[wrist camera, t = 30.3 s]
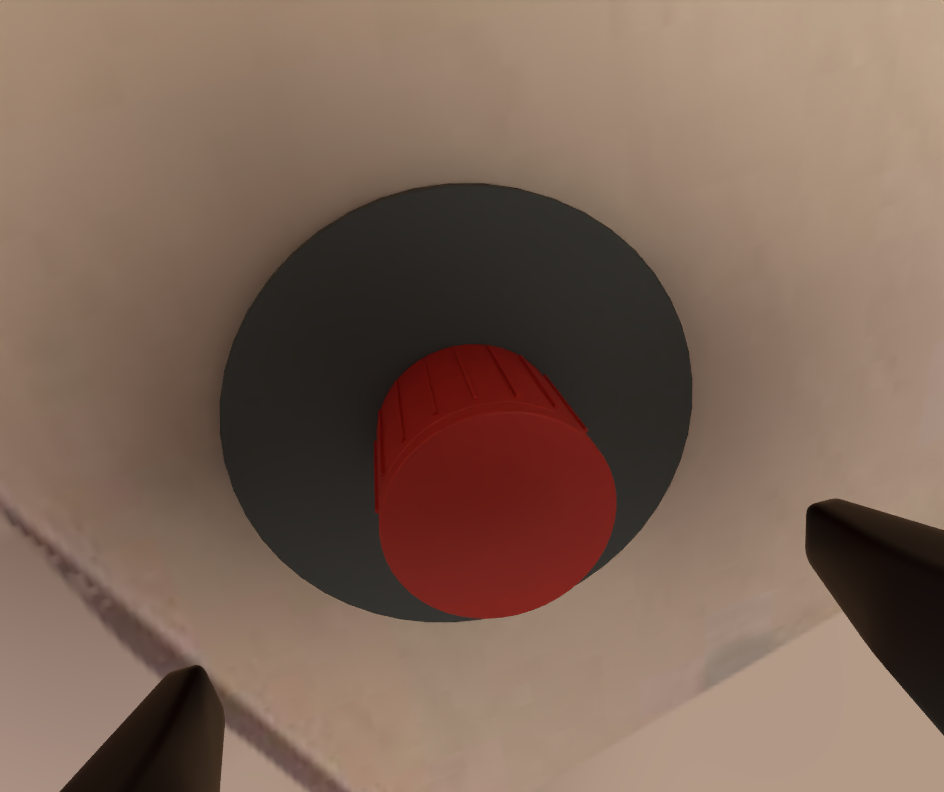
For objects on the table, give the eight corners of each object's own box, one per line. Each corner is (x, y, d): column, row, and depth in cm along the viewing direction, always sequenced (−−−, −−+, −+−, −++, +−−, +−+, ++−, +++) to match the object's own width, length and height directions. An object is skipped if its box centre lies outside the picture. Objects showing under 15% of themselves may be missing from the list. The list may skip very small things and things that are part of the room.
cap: (549, 322, 14) (609, 383, 10) (569, 491, 16) (627, 592, 12) (354, 363, 13) (349, 439, 10) (397, 530, 15) (405, 645, 12)
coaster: (692, 550, 18) (703, 564, 17) (305, 651, 17) (303, 668, 16) (667, 134, 13) (680, 133, 13) (146, 245, 13) (135, 249, 12)
